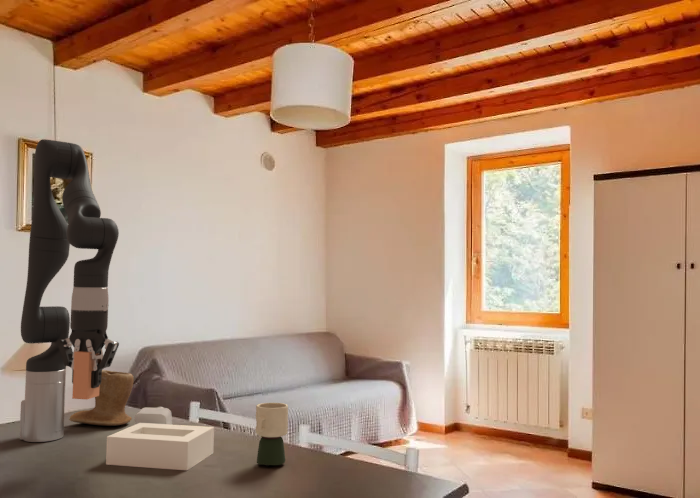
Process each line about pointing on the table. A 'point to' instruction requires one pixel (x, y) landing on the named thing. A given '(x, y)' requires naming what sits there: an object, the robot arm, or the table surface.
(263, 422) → the character mug
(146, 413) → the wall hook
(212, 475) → the table surface
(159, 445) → the well block
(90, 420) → the brown boot-shaped piece
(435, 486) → the table surface
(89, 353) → the orange block
